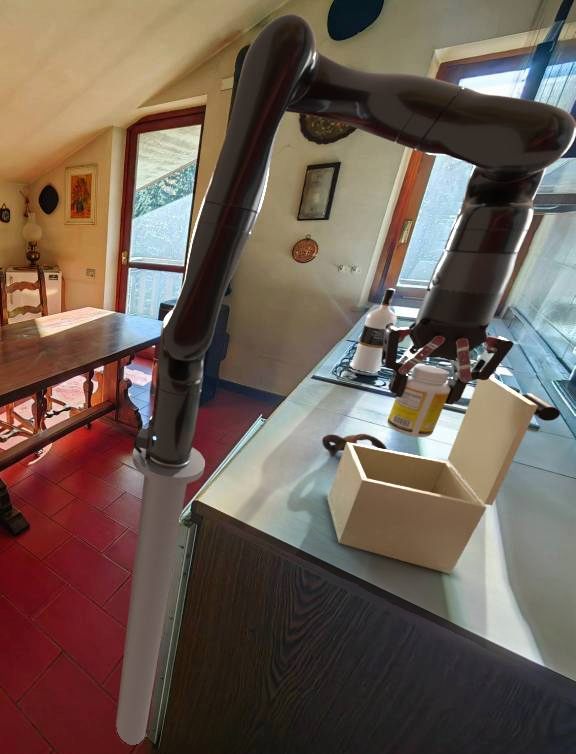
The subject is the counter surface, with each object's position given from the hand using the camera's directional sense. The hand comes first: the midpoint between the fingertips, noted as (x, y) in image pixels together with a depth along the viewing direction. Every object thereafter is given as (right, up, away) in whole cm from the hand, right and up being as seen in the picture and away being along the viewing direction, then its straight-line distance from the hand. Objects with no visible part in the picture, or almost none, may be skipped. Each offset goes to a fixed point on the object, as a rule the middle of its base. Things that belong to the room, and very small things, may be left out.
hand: (420, 398), depth 59 cm
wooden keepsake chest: (+1, -24, +8) cm, 25 cm away
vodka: (+55, +6, +83) cm, 100 cm away
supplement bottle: (0, -5, +2) cm, 6 cm away
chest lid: (+7, -5, -2) cm, 9 cm away
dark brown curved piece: (+9, -16, +28) cm, 33 cm away
